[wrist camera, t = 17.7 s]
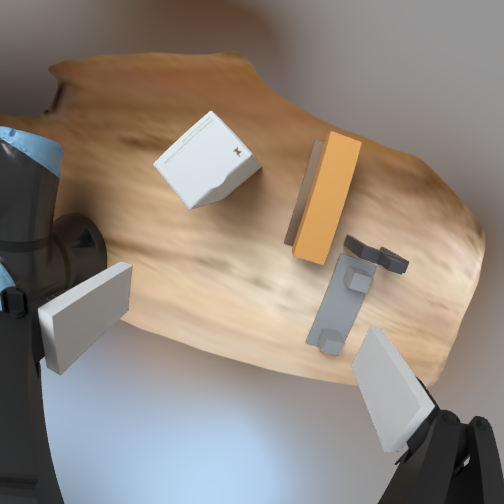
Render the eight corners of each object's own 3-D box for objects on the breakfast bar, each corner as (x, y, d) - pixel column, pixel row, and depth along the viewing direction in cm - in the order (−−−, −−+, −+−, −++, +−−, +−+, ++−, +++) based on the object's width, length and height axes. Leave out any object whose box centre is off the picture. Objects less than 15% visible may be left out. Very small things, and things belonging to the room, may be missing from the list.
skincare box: (236, 136, 39) (213, 104, 23) (264, 168, 39) (257, 154, 24) (194, 171, 40) (149, 162, 25) (221, 204, 41) (189, 212, 26)
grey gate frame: (343, 244, 40) (369, 265, 28) (346, 234, 39) (374, 251, 27) (381, 257, 40) (416, 281, 28) (385, 248, 39) (421, 268, 27)
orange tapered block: (291, 250, 37) (293, 256, 33) (326, 136, 33) (331, 131, 30) (319, 258, 37) (323, 265, 33) (354, 146, 33) (361, 142, 30)
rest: (284, 242, 41) (284, 248, 37) (314, 140, 38) (319, 134, 33) (321, 254, 41) (326, 261, 37) (352, 153, 37) (361, 149, 33)
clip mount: (305, 341, 44) (307, 356, 40) (340, 253, 41) (347, 260, 36) (338, 349, 44) (343, 364, 40) (375, 265, 41) (385, 272, 36)
